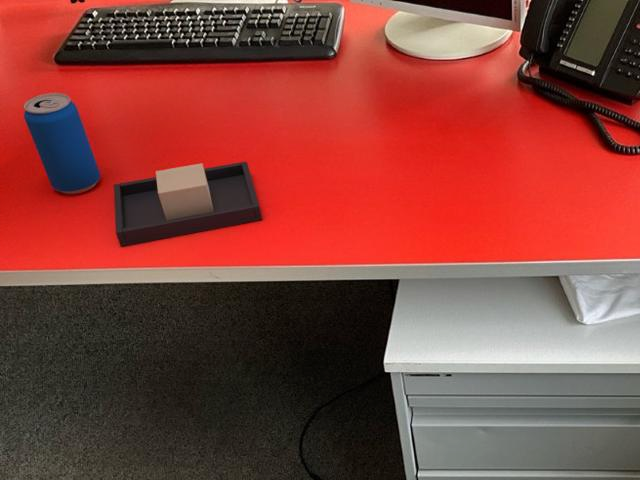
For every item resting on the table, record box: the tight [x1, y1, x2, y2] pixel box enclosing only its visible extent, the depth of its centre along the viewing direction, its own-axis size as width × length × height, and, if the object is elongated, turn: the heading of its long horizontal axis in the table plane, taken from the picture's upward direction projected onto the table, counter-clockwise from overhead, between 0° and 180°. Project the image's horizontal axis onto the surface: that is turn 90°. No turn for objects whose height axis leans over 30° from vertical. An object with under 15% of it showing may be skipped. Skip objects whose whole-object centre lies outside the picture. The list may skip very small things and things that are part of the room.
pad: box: [155, 162, 214, 220], centre depth 116 cm, size 6×6×4 cm
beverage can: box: [23, 92, 102, 195], centre depth 119 cm, size 6×6×12 cm
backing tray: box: [113, 161, 263, 247], centre depth 117 cm, size 18×13×2 cm
